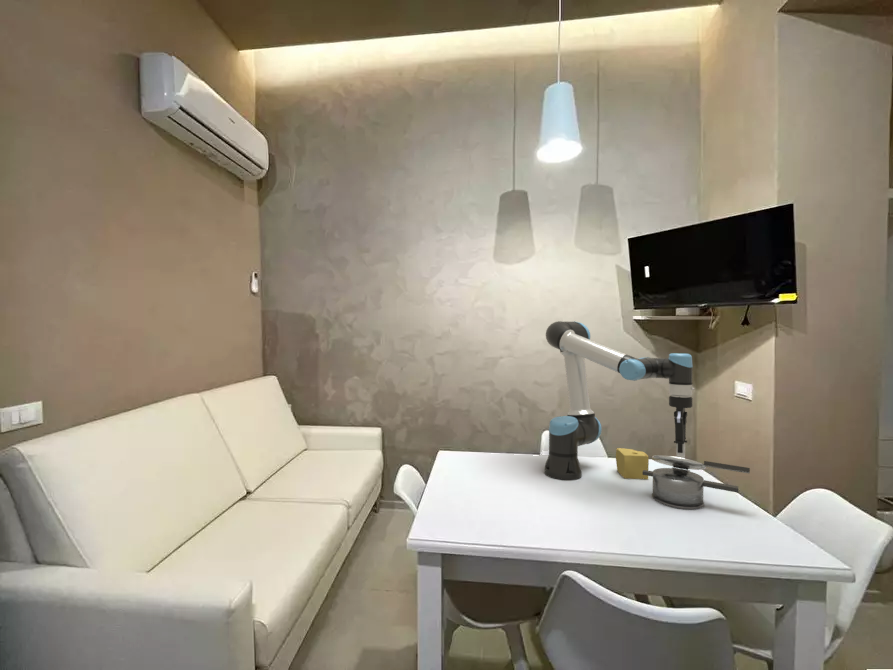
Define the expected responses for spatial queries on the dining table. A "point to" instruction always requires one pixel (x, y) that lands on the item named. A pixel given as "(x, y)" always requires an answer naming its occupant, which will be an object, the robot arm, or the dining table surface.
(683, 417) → the robot arm
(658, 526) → the dining table surface
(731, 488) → the pot
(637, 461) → the cheese
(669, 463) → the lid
